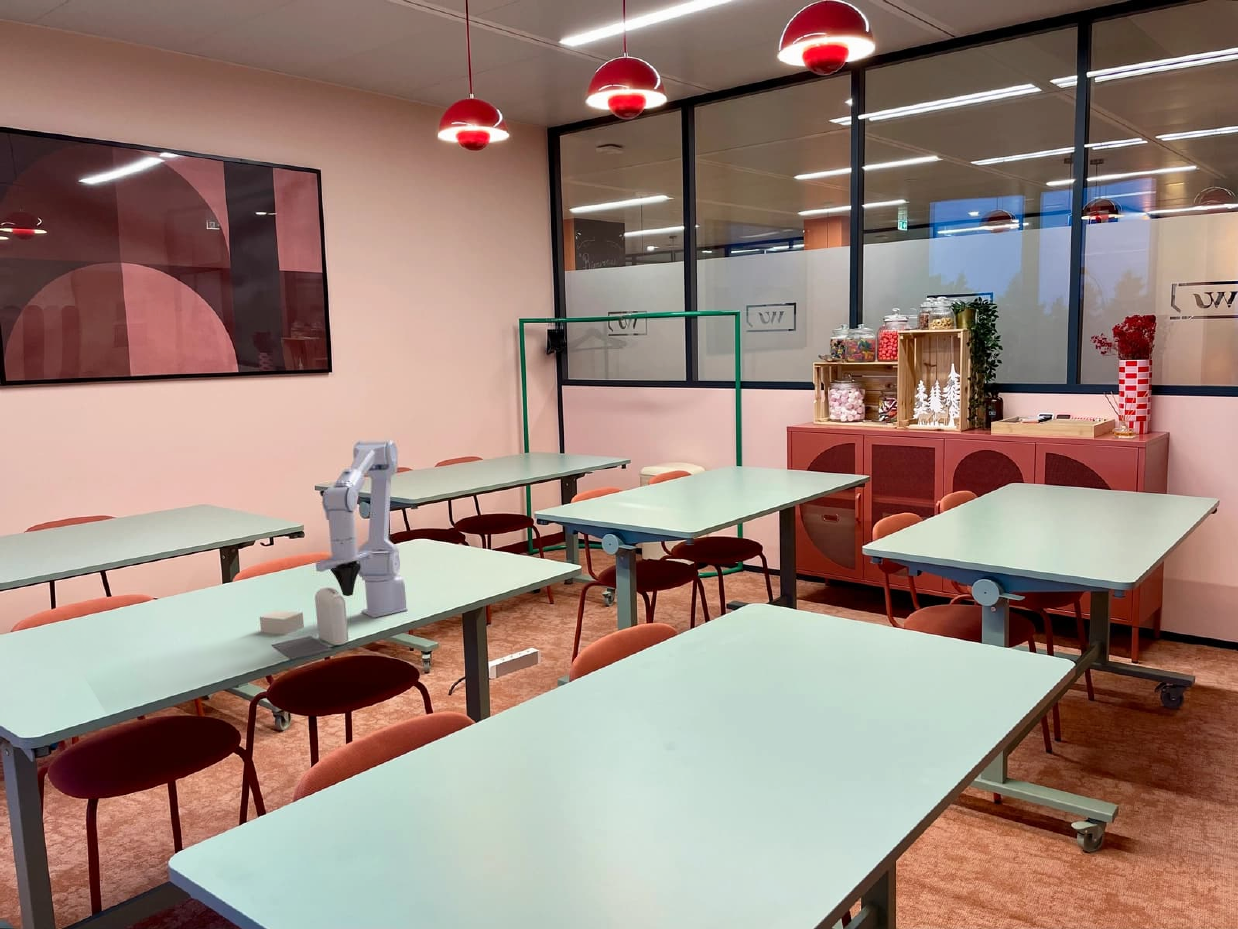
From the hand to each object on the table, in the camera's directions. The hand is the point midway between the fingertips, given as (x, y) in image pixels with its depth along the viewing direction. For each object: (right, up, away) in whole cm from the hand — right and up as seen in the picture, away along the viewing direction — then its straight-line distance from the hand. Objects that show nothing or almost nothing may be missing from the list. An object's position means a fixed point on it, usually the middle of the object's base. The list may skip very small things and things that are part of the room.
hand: (347, 595), depth 215 cm
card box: (-19, -10, +9) cm, 23 cm away
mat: (-9, -11, -6) cm, 15 cm away
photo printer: (-3, -11, -1) cm, 11 cm away
